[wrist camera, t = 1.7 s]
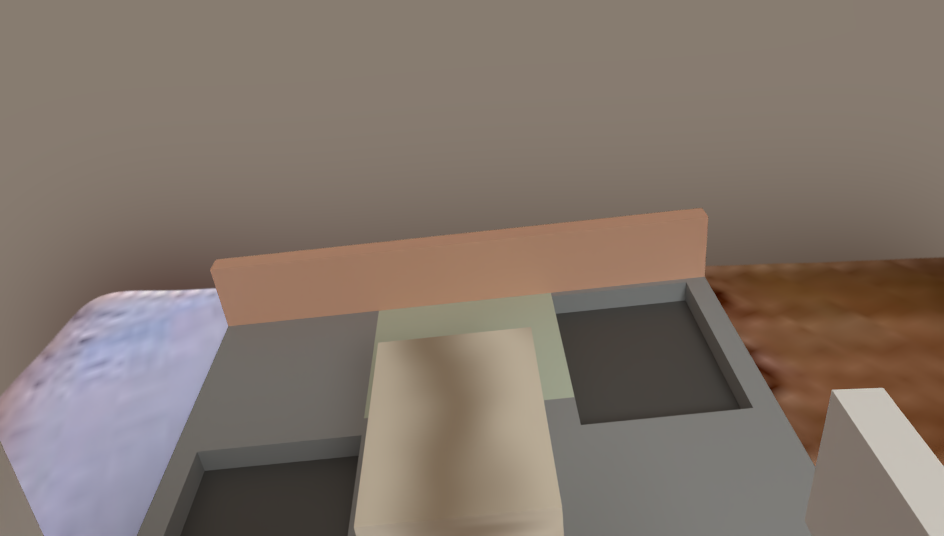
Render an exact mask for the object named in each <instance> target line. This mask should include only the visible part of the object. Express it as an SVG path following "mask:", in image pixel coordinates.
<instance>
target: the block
mask: <svg viewBox="0 0 944 536" xmlns="http://www.w3.org/2000/svg"><path fill="white" fill-rule="evenodd" d="M354 530H355V534H356V536H564V528H563V512H562V503H561V497H560V492H559V486H558V480H557V474H556V468H555V463H554V457H553V451H552V445H551V439H550V434H549V428H548V422H547V416H546V410H545V405H544V399H543V393H542V387H541V381H540V376H539V370H538V364H537V358H536V352H535V347H534V341H533V335H532V329H531V327H526V328H516V329H506V330H497V331H487V332H477V333H468V334H458V335H448V336H439V337H429V338H419V339H409V340H400V341H390V342H380V343H378V347H377V355H376V363H375V370H374V378H373V385H372V393H371V401H370V408H369V416H368V423H367V431H366V438H365V446H364V454H363V461H362V469H361V476H360V484H359V492H358V499H357V507H356V514H355V522H354Z"/></svg>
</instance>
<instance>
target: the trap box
mask: <svg viewBox="0 0 944 536" xmlns="http://www.w3.org/2000/svg"><path fill="white" fill-rule="evenodd" d="M707 229H708V216H707V214H706V213H705V212H704V210H703V209H702V208H695V209H686V210H676V211H668V212H657V213H648V214H639V215H629V216H621V217H611V218H602V219H592V220H583V221H575V222H574V221H573V222H564V223H555V224H545V225H536V226H527V227H517V228H508V229H498V230H489V231H479V232H470V233H461V234H451V235H442V236H433V237H423V238H415V239H405V240H396V241H386V242H377V243H368V244H358V245H348V246H339V247H330V248H320V249H311V250H302V251H292V252H283V253H274V254H264V255H255V256H245V257H237V258H227V259H217V260H215V262H214V264H213V266H212V268H211V269H210V271H211V274H212V277H213V280H214V283H215V286H216V289H217V292H218V295H219V299H220V302H221V305H222V308H223V311H224V314H225V317H226V320H227V323H228V326H229V327H228V329H227V331H226V333H225V336H224V338H223V340H222V343H221V345H220V347H219V349H218V352H217V354H216V356H215V359H214V361H213V363H212V365H211V368H210V370H209V372H208V375H207V377H206V379H205V381H204V384H203V386H202V388H201V391H200V393H199V395H198V397H197V400H196V402H195V404H194V406H193V409H192V411H191V413H190V416H189V418H188V420H187V422H186V425H185V427H184V429H183V432H182V434H181V436H180V438H179V441H178V443H177V445H176V448H175V450H174V452H173V454H172V457H171V459H170V461H169V464H168V466H167V468H166V470H165V473H164V475H163V477H162V480H161V482H160V484H159V486H158V489H157V491H156V493H155V496H154V498H153V500H152V502H151V505H150V507H149V509H148V511H147V514H146V516H145V518H144V521H143V523H142V525H141V527H140V530H139V532H138V534H137V536H356V534H355V530H354V522H355V514H356V507H357V499H358V492H359V484H360V476H361V469H362V461H363V454H364V446H365V438H366V431H367V423H368V416H369V408H370V401H371V393H372V385H373V378H374V370H375V363H376V355H377V347H378V343H380V342H390V341H400V340H409V339H419V338H429V337H439V336H448V335H458V334H468V333H477V332H487V331H497V330H506V329H516V328H526V327H531V329H532V335H533V341H534V347H535V352H536V358H537V364H538V370H539V376H540V381H541V387H542V393H543V399H544V405H545V410H546V416H547V422H548V428H549V434H550V439H551V445H552V451H553V457H554V463H555V468H556V474H557V480H558V486H559V492H560V497H561V503H562V512H563V528H564V536H812V535H811V533H810V531H809V529H808V527H807V525H806V523H805V521H804V520H805V515H806V510H807V506H808V501H809V496H810V491H811V487H812V482H813V477H814V473H815V466H814V464H813V462H812V461H811V459H810V457H809V456H808V454H807V452H806V450H805V449H804V447H803V445H802V443H801V442H800V440H799V438H798V437H797V435H796V433H795V431H794V430H793V428H792V426H791V425H790V423H789V421H788V419H787V418H786V416H785V414H784V412H783V411H782V409H781V407H780V406H779V404H778V402H777V400H776V399H775V397H774V395H773V394H772V392H771V390H770V388H769V387H768V385H767V383H766V382H765V380H764V378H763V376H762V375H761V373H760V371H759V369H758V368H757V366H756V364H755V363H754V361H753V359H752V357H751V356H750V354H749V352H748V351H747V349H746V347H745V345H744V344H743V342H742V340H741V339H740V337H739V335H738V333H737V332H736V330H735V328H734V326H733V325H732V323H731V321H730V320H729V318H728V316H727V314H726V313H725V311H724V309H723V308H722V306H721V304H720V302H719V301H718V299H717V297H716V295H715V294H714V292H713V290H712V289H711V287H710V285H709V283H708V282H707V280H706V278H705V262H706V246H707Z"/></svg>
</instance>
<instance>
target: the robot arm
mask: <svg viewBox="0 0 944 536" xmlns="http://www.w3.org/2000/svg"><path fill="white" fill-rule="evenodd" d="M804 521H805V523H806V525H807V527H808V529H809V531H810V533H811V535H812V536H944V466H943V465H942V464H941V462H940V461H939V460H938V459H937V457H936V456H935V455H934V453H933V452H932V451H931V449H930V448H929V447H928V446H927V444H926V443H925V442H924V440H923V439H922V438H921V436H920V435H919V434H918V433H917V431H916V430H915V429H914V427H913V426H912V425H911V423H910V422H909V421H908V420H907V418H906V417H905V416H904V414H903V413H902V412H901V410H900V409H899V408H898V407H897V405H896V404H895V403H894V401H893V400H892V399H891V397H890V396H889V395H888V394H887V392H886V391H885V390H884V388H868V389H842V390H832V392H831V397H830V402H829V406H828V411H827V416H826V421H825V425H824V430H823V435H822V440H821V444H820V449H819V454H818V458H817V463H816V468H815V473H814V477H813V482H812V487H811V491H810V496H809V501H808V506H807V510H806V515H805V520H804ZM0 536H44V535H43V533H42V531H41V529H40V527H39V524H38V522H37V520H36V518H35V516H34V514H33V511H32V509H31V507H30V505H29V503H28V501H27V498H26V496H25V494H24V492H23V490H22V487H21V485H20V483H19V481H18V479H17V477H16V474H15V472H14V470H13V468H12V466H11V464H10V461H9V459H8V457H7V455H6V453H5V450H4V448H3V446H2V444H1V442H0Z"/></svg>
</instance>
